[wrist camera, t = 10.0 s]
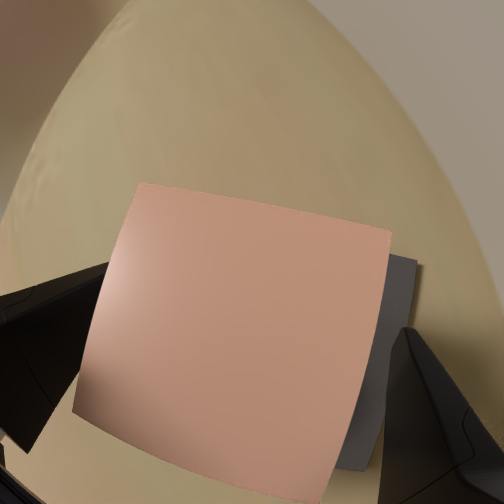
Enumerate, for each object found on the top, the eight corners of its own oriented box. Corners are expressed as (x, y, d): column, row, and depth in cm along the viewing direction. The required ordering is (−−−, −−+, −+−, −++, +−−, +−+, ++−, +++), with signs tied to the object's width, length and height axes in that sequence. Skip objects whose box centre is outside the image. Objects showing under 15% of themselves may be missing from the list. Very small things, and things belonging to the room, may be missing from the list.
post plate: (362, 468, 15) (379, 500, 10) (131, 402, 18) (90, 412, 13) (413, 262, 18) (444, 239, 13) (185, 213, 21) (158, 181, 16)
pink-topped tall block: (305, 401, 16) (318, 504, 4) (209, 375, 17) (72, 411, 6) (331, 305, 17) (391, 231, 6) (235, 282, 18) (139, 182, 7)
